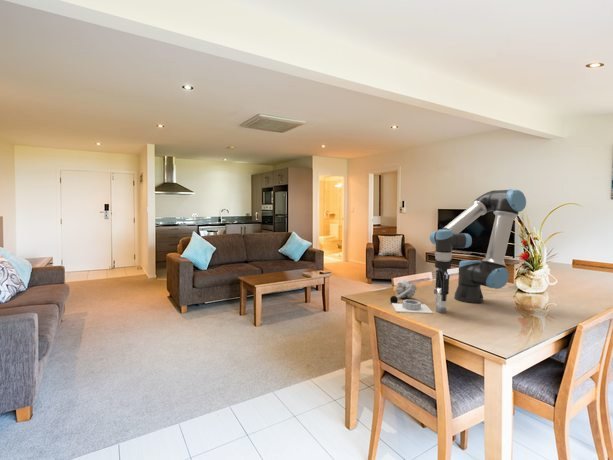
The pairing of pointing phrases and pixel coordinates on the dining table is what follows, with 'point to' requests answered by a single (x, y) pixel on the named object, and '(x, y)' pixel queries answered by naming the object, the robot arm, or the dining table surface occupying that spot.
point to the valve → (404, 291)
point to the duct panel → (411, 307)
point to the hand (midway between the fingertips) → (441, 305)
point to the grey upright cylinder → (438, 308)
